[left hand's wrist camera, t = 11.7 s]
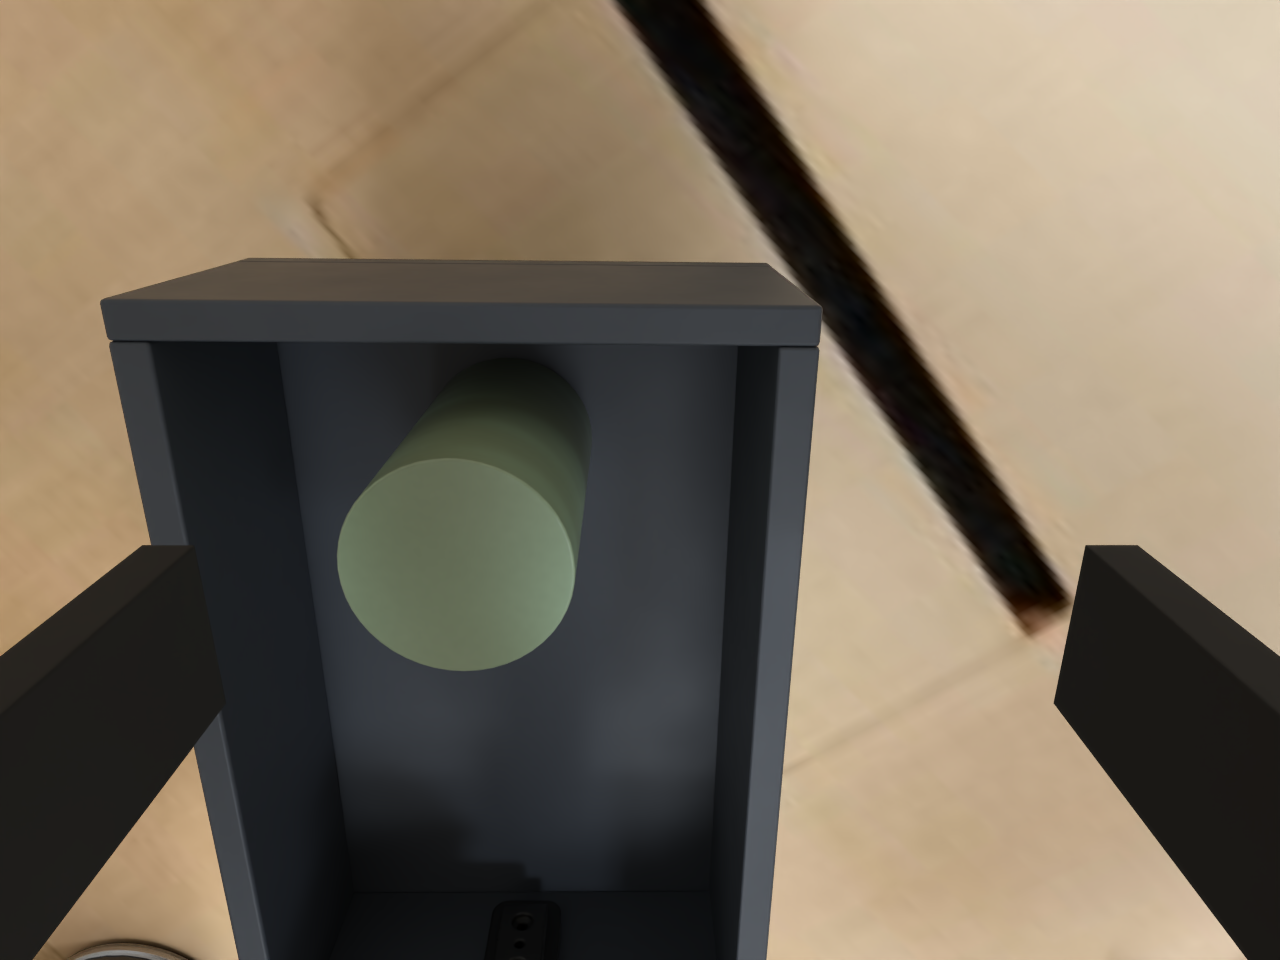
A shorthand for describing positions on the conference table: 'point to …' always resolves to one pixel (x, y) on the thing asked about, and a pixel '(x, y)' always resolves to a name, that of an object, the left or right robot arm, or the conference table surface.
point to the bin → (527, 687)
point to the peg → (473, 521)
